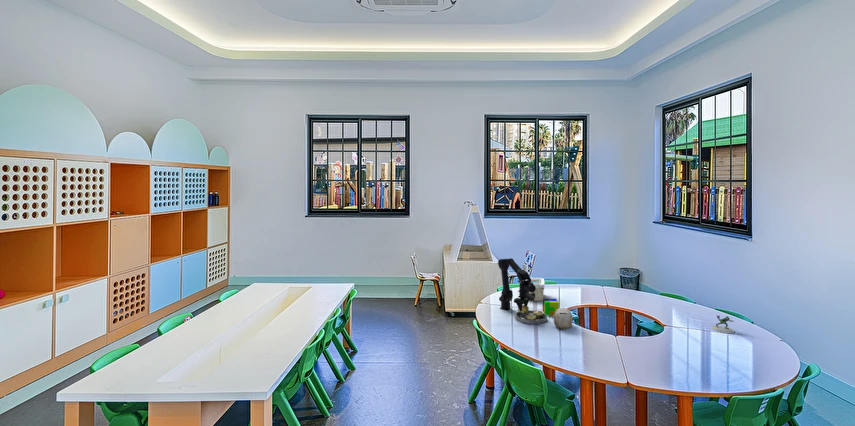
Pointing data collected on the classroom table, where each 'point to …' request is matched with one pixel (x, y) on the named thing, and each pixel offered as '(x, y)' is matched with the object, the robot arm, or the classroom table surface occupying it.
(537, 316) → the tray
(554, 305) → the puzzle toy
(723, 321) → the monster figurine
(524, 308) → the planet gear
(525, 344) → the classroom table surface
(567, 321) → the coin bank
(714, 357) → the classroom table surface
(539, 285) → the storage basket
